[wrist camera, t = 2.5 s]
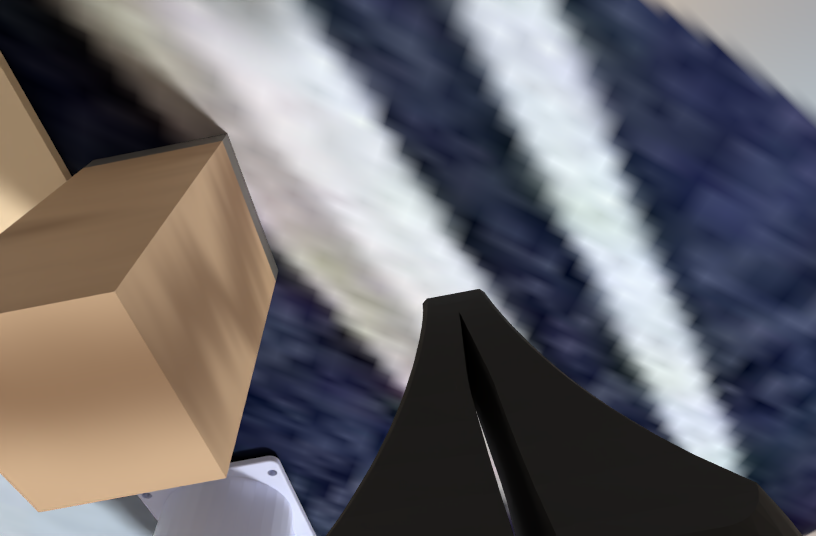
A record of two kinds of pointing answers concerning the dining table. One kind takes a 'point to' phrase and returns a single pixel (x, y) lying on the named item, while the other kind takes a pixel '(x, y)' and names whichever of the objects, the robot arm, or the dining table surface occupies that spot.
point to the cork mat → (24, 153)
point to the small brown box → (131, 326)
